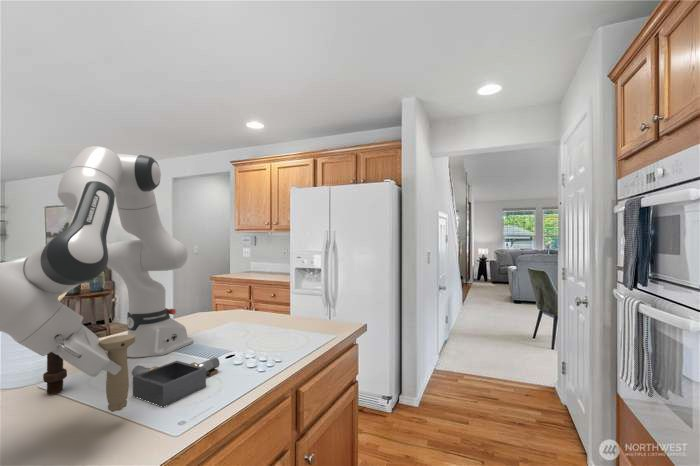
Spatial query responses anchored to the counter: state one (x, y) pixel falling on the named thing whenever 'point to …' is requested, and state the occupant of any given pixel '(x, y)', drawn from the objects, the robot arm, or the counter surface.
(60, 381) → the bolt
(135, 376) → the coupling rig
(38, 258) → the robot arm
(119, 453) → the counter surface
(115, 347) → the handle
